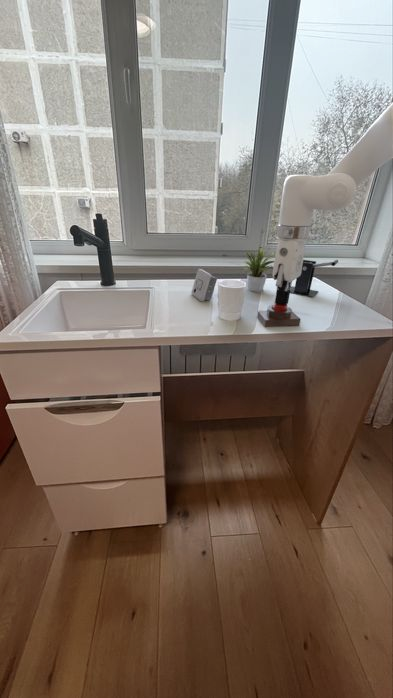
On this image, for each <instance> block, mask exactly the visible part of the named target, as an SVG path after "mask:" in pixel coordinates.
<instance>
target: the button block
mask: <svg viewBox="0 0 393 698" xmlns="http://www.w3.org/2000/svg"><path fill="white" fill-rule="evenodd" d="M273 306H274V304H270V305H269V306H267V309H266V310H258V311H257V315H256V318H257V319H258V321H259V322H260V323H261V325H262V326H263V327H264V328H281V327H282V328H284V327H287V328H288V327H300V324H301V317H299V316H298V315H297V314H296V313H294V312H293V309H292V308H291V307H289V306H287V309H286V311H283V312H280V311H275V310H273Z"/></svg>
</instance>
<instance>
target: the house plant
mask: <svg viewBox="0 0 393 698" xmlns="http://www.w3.org/2000/svg"><path fill="white" fill-rule="evenodd" d="M270 249H271V247H270V248H268V249H266V250H265V252H263V250H264V249H263V248H261V246H260V245H259V247H258V248H257V255H255V253H254V252H253V251H252V249H251V250H250V249H249V252H248V251H246V252H243V254H244V255H245V256H246V257H247V259H248V260H249V261H244V263H245V264H247V265H244V267H243V269H244V270H243V271H246V270H249V271H251V272H249V273H247V274H246V278H247V290H248V291H250V292H263V290H264V287H265V285H266V284H265V283H266V280H267V277H268V275H267V274H265V273H266V272H267V270H273V268H274V265H270V264H274V262H275V260H270V259H275V256H276V251H275V252H272V253H270V254H269V255H268V256H267V257H265V256H266V254H267V253H268V252H269V251H270ZM274 254H275V255H274ZM264 258H265V259H264ZM263 259H264V260H263Z"/></svg>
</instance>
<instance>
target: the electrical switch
mask: <svg viewBox="0 0 393 698" xmlns="http://www.w3.org/2000/svg"><path fill="white" fill-rule="evenodd" d="M217 281H218V278H217V277H216V276H213V275H212V274H211V273H209V272H207V271H205V270H204V269H202V268H198V269H197V271H196V275H195V279H194V282H193V285H192V289H191V295H192V296H193V297H194V298H196V299H197V300H198V301H200V302H202V303H204V301H211V300H212V296H213V293H214V290H215V287H216V285H217V284H216V283H217Z"/></svg>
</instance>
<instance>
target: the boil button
mask: <svg viewBox="0 0 393 698" xmlns="http://www.w3.org/2000/svg"><path fill="white" fill-rule="evenodd" d="M273 305H274V306H273V310H275V311H280V312H283V311H286V309H287V307H288V304H287V305H280V304H276V303H275V302H274V303H273Z"/></svg>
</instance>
